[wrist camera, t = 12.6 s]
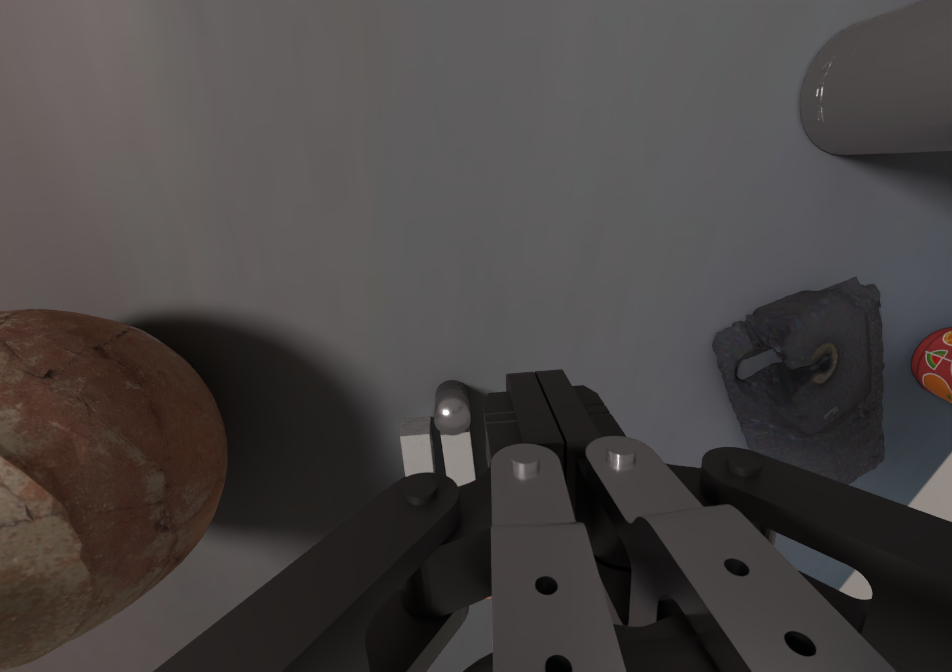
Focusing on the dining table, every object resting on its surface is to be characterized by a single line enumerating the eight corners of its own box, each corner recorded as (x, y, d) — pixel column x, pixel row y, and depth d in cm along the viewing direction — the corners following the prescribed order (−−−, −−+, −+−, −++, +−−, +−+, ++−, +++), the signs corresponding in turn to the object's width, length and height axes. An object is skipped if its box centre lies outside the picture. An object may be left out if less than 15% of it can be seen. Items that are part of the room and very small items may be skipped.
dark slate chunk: (741, 506, 49) (771, 540, 45) (702, 321, 42) (732, 339, 37) (885, 458, 48) (930, 488, 44) (870, 261, 41) (922, 271, 36)
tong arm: (439, 418, 43) (438, 435, 40) (469, 414, 43) (471, 431, 40) (462, 576, 49) (463, 601, 46) (488, 573, 49) (491, 597, 46)
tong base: (397, 384, 42) (391, 408, 38) (467, 379, 42) (469, 401, 38) (422, 577, 49) (420, 615, 45) (481, 572, 49) (485, 608, 45)
